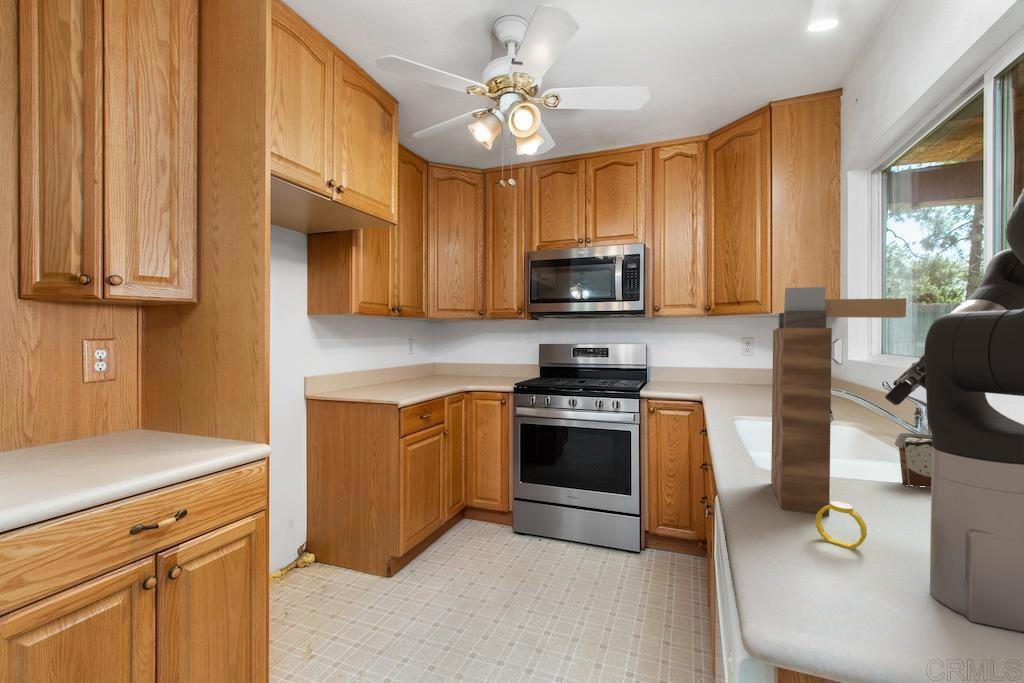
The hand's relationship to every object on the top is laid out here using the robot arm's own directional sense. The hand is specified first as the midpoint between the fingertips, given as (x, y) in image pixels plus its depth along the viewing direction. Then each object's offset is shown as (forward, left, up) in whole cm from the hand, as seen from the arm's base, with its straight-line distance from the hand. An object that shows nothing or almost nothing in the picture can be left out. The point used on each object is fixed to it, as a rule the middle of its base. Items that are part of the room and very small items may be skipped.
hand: (906, 393), depth 74 cm
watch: (-14, +12, -21) cm, 28 cm away
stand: (+6, +14, -21) cm, 26 cm away
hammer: (+2, +9, +11) cm, 14 cm away
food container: (+28, -11, -21) cm, 37 cm away
